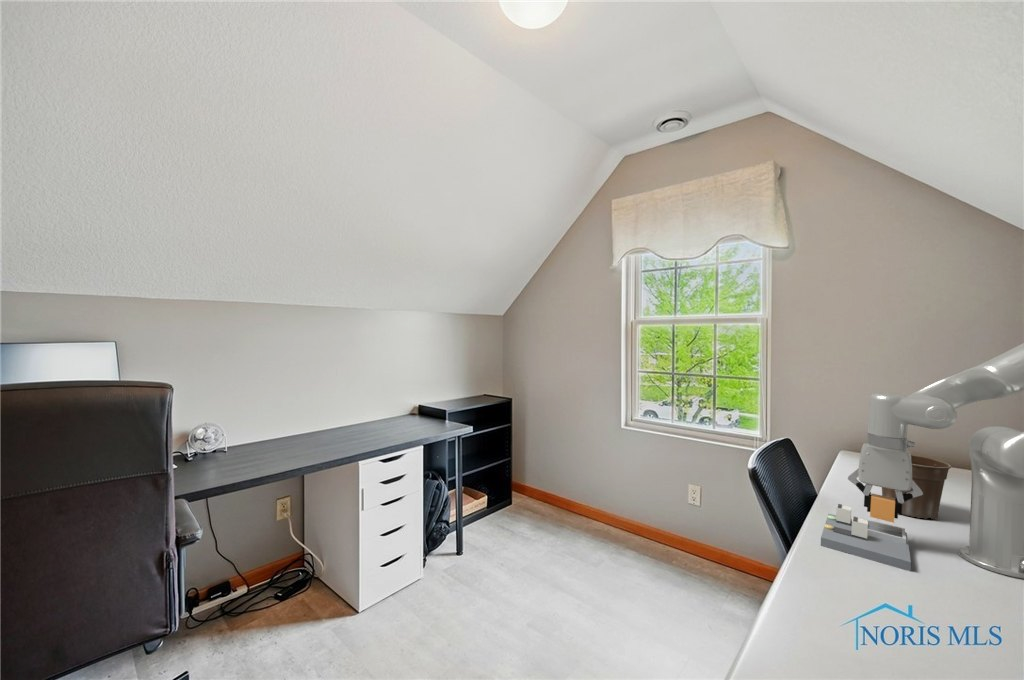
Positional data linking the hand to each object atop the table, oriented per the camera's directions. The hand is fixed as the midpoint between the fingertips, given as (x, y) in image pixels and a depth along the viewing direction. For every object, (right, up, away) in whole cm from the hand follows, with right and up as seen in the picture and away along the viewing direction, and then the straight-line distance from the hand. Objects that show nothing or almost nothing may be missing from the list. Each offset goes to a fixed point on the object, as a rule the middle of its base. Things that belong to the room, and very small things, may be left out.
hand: (882, 512), depth 106 cm
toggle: (-5, -5, +6) cm, 9 cm away
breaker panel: (-6, -7, -2) cm, 9 cm away
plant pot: (+26, -8, +20) cm, 34 cm away
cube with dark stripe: (-8, -5, -2) cm, 9 cm away
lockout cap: (0, -1, 0) cm, 1 cm away
